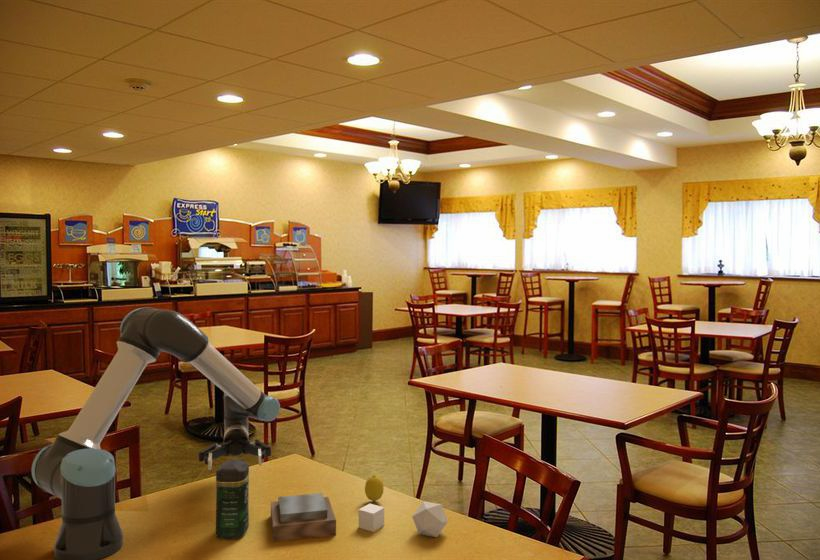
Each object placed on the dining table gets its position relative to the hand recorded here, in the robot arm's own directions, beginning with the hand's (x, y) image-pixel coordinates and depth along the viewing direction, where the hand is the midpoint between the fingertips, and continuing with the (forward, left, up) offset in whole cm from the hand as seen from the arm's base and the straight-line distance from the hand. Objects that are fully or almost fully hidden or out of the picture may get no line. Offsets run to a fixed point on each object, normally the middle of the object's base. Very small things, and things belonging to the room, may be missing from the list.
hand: (235, 462), depth 173 cm
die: (+50, -24, -15) cm, 57 cm away
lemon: (+40, 0, -15) cm, 42 cm away
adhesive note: (+36, -16, -15) cm, 42 cm away
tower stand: (+18, -11, -15) cm, 25 cm away
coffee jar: (0, -11, -15) cm, 19 cm away
